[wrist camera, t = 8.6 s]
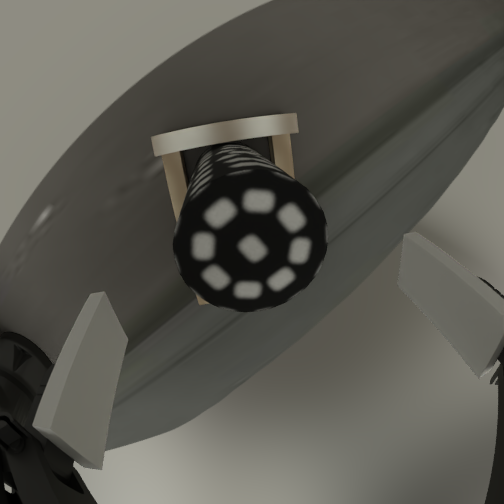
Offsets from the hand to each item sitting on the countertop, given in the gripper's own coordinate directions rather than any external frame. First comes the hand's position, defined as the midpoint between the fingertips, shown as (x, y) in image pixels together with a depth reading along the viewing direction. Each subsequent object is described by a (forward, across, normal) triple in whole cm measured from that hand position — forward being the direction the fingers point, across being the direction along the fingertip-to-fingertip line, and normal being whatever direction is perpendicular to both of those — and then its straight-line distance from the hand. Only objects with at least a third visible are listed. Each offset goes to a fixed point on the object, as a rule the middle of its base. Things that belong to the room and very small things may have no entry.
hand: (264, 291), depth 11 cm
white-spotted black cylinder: (+24, 0, 0) cm, 24 cm away
